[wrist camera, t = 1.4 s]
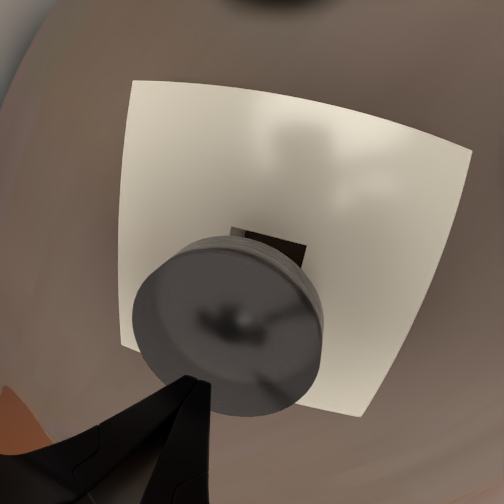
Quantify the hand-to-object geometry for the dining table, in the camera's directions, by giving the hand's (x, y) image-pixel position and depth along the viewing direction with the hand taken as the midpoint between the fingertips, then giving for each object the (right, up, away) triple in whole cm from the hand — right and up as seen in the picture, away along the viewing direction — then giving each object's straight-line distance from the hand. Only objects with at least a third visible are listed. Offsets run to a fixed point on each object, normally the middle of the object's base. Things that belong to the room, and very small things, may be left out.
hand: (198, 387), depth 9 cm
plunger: (+2, +3, +7) cm, 8 cm away
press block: (+3, +5, +12) cm, 13 cm away
